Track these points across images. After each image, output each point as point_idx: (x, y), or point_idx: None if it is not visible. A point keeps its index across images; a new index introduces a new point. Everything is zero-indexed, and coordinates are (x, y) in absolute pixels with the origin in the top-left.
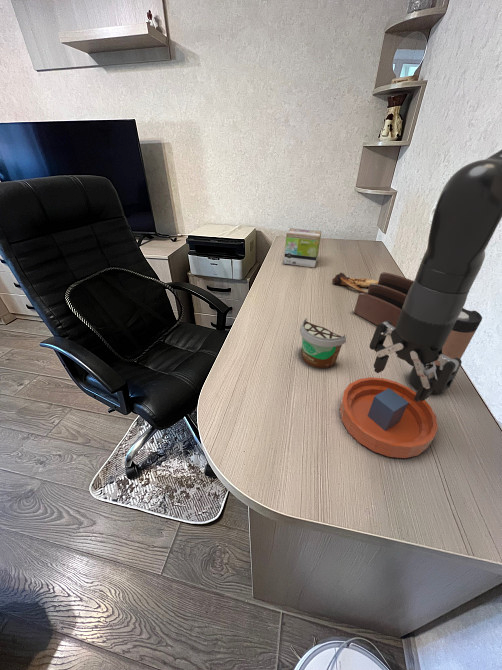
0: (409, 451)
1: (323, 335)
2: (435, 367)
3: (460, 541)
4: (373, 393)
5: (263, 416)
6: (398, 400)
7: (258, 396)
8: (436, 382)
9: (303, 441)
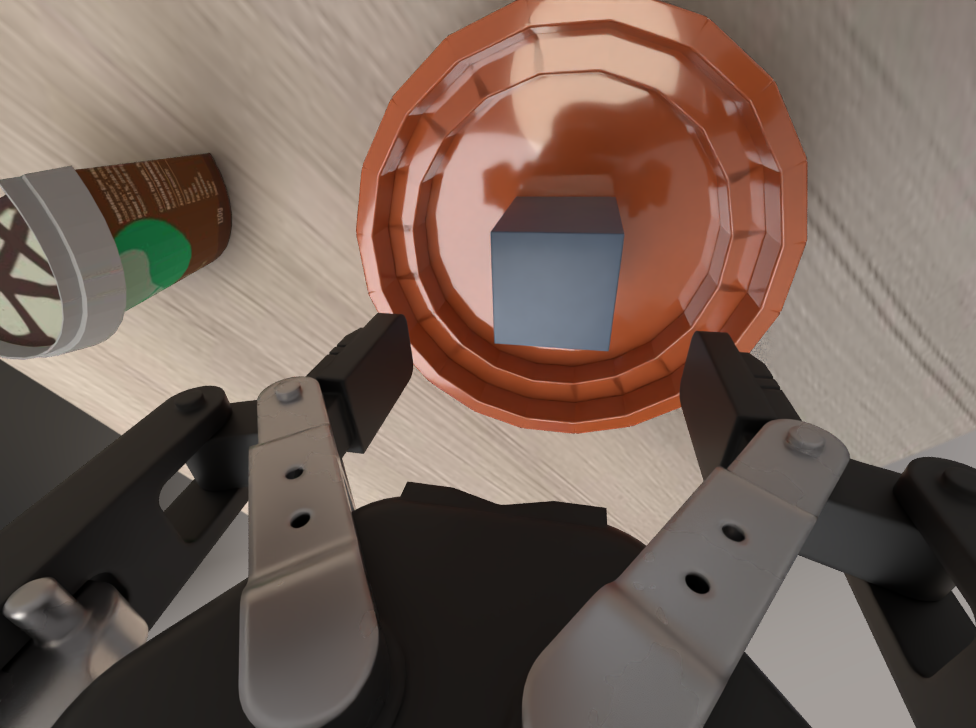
0: None
1: (26, 284)
2: (807, 530)
3: (955, 414)
4: (439, 162)
5: (381, 495)
6: (579, 271)
7: None
8: (855, 556)
9: (487, 479)
